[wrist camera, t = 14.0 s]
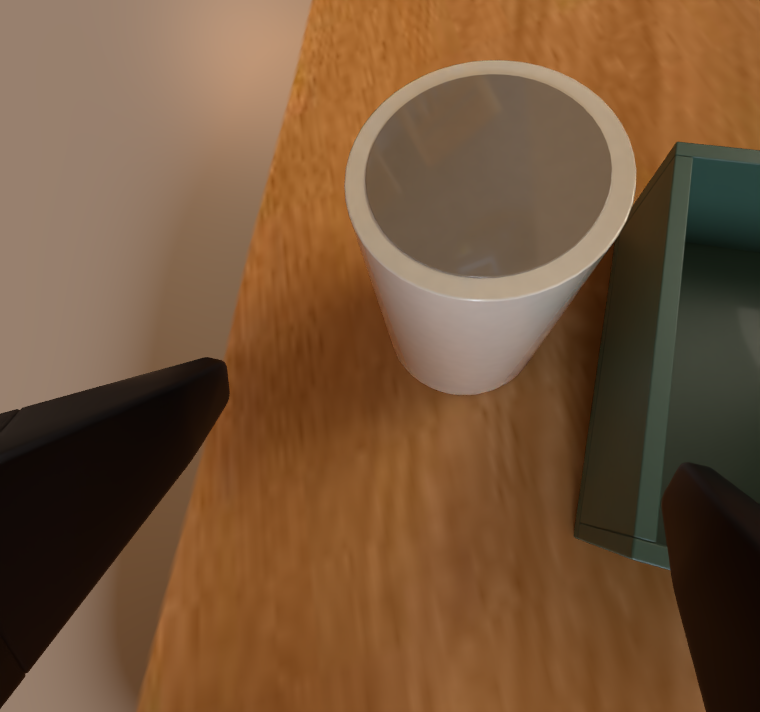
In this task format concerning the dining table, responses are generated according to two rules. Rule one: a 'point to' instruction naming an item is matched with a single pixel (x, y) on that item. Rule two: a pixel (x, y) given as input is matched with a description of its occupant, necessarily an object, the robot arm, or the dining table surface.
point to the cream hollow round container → (485, 213)
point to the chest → (676, 349)
